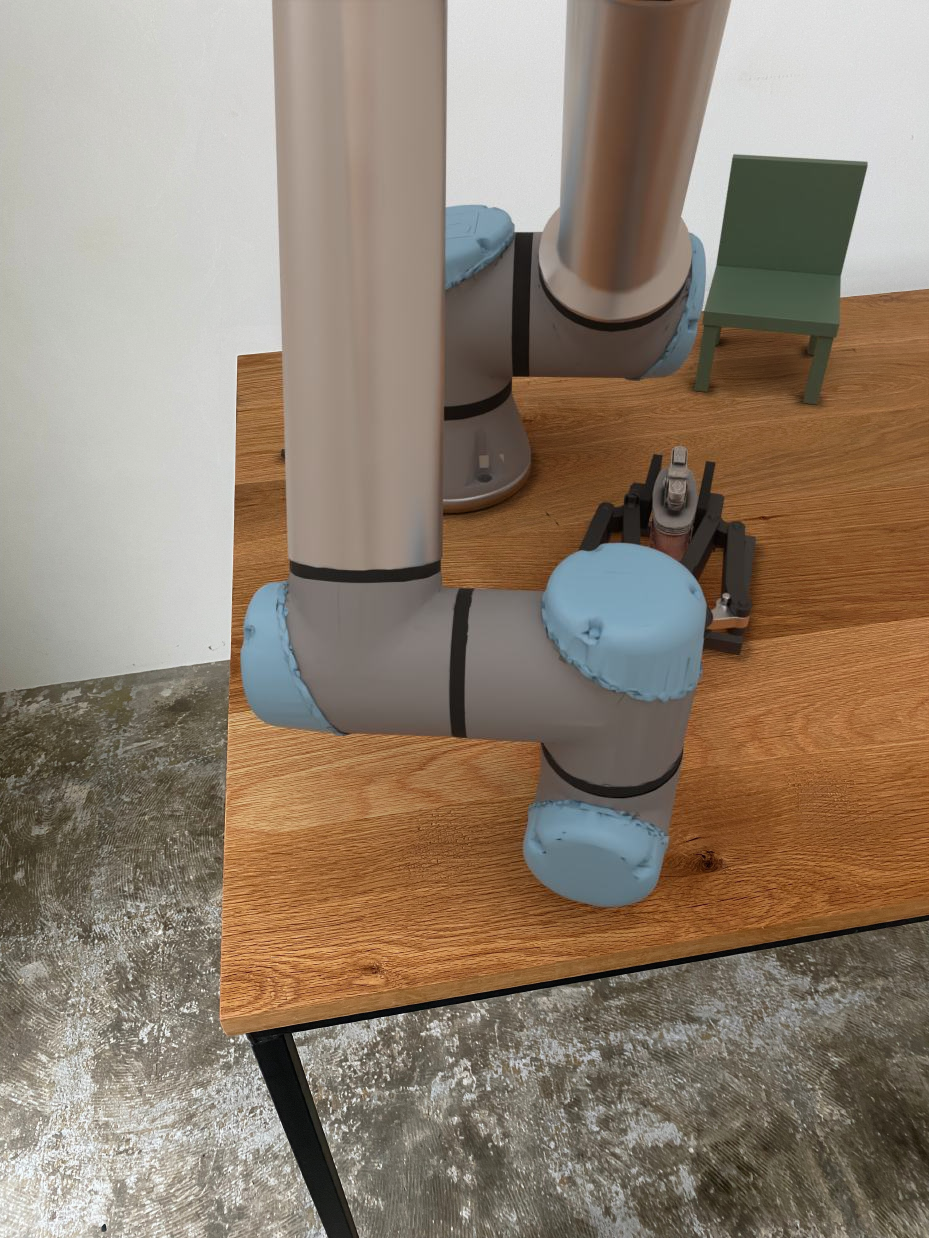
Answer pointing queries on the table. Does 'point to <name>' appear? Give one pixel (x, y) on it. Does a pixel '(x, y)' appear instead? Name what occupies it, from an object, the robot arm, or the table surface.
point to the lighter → (674, 506)
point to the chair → (783, 254)
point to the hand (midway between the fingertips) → (682, 472)
